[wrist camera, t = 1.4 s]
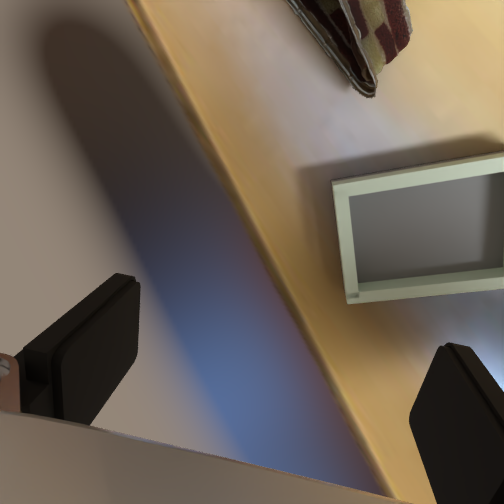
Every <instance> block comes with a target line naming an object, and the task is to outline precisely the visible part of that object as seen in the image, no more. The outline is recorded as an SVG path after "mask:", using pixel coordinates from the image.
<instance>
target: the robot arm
mask: <svg viewBox="0 0 504 504" xmlns="http://www.w3.org/2000/svg"><path fill="white" fill-rule="evenodd" d="M139 310H140V283H139V282H136V279H135V277H133V276H129V275H124V274H119V273H115V274H114V275H113V276H111V277H110V278H109V279H108V280H106V281H105V282H104V283H103V284H102V285H100V286H99V287H98V288H96V289H95V290H94V291H93V292H92V293H90V294H89V295H88V296H87V297H85V298H84V299H83V300H82V301H81V302H79V303H78V304H77V305H75V306H74V307H73V308H72V309H70V310H69V311H68V312H67V313H65V314H64V315H63V316H62V317H61V318H60V319H58V320H57V321H56V322H54V323H53V324H52V325H51V326H50V327H48V328H47V329H46V330H45V331H43V332H42V333H41V334H39V335H38V336H37V337H36V338H35V339H33V340H32V341H31V342H30V343H28V344H27V345H26V346H25V347H23V350H22V351H20V352H19V353H18V354H17V355H15V356H14V357H12V356H10V355H7V354H4V353H0V504H412V503H408V502H404V501H400V500H396V499H392V498H388V497H384V496H380V495H376V494H372V493H368V492H364V491H360V490H356V489H352V488H348V487H344V486H340V485H336V484H332V483H327V482H324V481H320V480H315V479H311V478H307V477H303V476H299V475H295V474H291V473H287V472H283V471H279V470H274V469H270V468H266V467H262V466H258V465H254V464H250V463H246V462H242V461H237V460H233V459H229V458H225V457H221V456H217V455H213V454H208V453H204V452H200V451H195V450H192V449H187V448H182V447H179V446H174V445H170V444H166V443H162V442H158V441H154V440H149V439H145V438H141V437H137V436H133V435H128V434H124V433H120V432H115V431H111V430H106V429H102V428H98V427H94V426H90V424H91V423H92V421H93V420H94V419H95V417H96V416H97V414H98V413H99V412H100V410H101V409H102V407H103V406H104V404H105V403H106V401H107V400H108V399H109V397H110V396H111V394H112V393H113V391H114V390H115V389H116V387H117V386H118V384H119V383H120V381H121V380H122V379H123V377H124V376H125V375H126V373H127V372H128V370H129V369H130V367H131V366H132V364H133V363H134V361H135V359H136V357H137V353H138V334H139ZM409 424H410V427H411V430H412V433H413V436H414V439H415V442H416V445H417V447H418V450H419V453H420V456H421V459H422V462H423V465H424V468H425V470H426V473H427V476H428V479H429V482H430V485H431V488H432V491H433V493H434V496H435V499H436V502H437V504H504V392H503V390H502V389H501V388H500V386H499V385H498V384H497V382H496V381H495V380H494V378H493V377H492V375H491V374H490V373H489V371H488V370H487V369H486V367H485V366H484V365H483V363H482V362H481V361H480V359H479V358H478V356H477V355H476V354H475V352H474V351H473V350H472V349H471V348H470V347H468V346H464V345H459V344H454V343H450V342H449V343H446V344H445V345H444V346H440V347H439V348H438V349H437V351H436V353H435V356H434V358H433V360H432V363H431V365H430V367H429V370H428V372H427V374H426V377H425V379H424V381H423V384H422V386H421V388H420V391H419V393H418V395H417V398H416V400H415V402H414V405H413V407H412V409H411V412H410V416H409Z"/></svg>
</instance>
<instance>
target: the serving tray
mask: <svg viewBox="0 0 504 504" xmlns="http://www.w3.org/2000/svg"><path fill="white" fill-rule="evenodd" d="M331 186H332V194H333V202H334V210H335V219H336V227H337V235H338V243H339V251H340V259H341V268H342V276H343V284H344V291H345V296H346V300H347V304H356V303H366V302H376V301H387V300H397V299H407V298H417V297H427V296H437V295H447V294H457V293H467V292H477V291H487V290H497V289H504V150H503V151H497V152H491V153H485V154H479V155H473V156H468V157H462V158H456V159H450V160H444V161H439V162H433V163H427V164H421V165H415V166H409V167H404V168H398V169H392V170H386V171H380V172H374V173H369V174H363V175H357V176H351V177H345V178H339V179H334V180H331Z"/></svg>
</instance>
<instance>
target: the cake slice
mask: <svg viewBox="0 0 504 504" xmlns="http://www.w3.org/2000/svg"><path fill="white" fill-rule="evenodd" d="M286 1H287V2H288V3H289V5H290V6H291V7H292V9H293V10H294V13H295V14H296V15H297V14H298V15H299V17H300V18H301V21H302V22H303V23H304V24H305V26H306V27H307V28H308V29H309V31H310V32H311V33H312V34H313V35H314V37H315V38H316V39H317V41H318V42H319V44H320V45H321V46H322V47H323V49H324V50H325V51H326V54H328V55H329V56H330V57H331V58H332V59H333V60H334V61H335V63H336V64H337V66H338V67H339V69H340V70H341V71H342V72H343V73H344V75H345V77H346V78H347V80H348V81H349V82H350V83H351V85H352V86H353V88H354V89H355V90H357V92H359V94H361V95H362V96H364V97H366V98H371V99H372V98H373V97H375V93H376V88H377V83H378V80H377V77H376V75H377V74H378V73H380V72H381V70H382V68H383V66H384V65H385V64H388V63H390V62H391V61H392V60H393V59H394V58H395V57H396V56H397V55H398V53H399V52H400V51H401V50H402V49H404V48H405V47H406V46H407V45H408V42H409V40H410V36H411V33H412V31H413V29H412V24H411V18H410V12H409V9H408V7H407V6H406V3H405V0H286Z"/></svg>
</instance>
